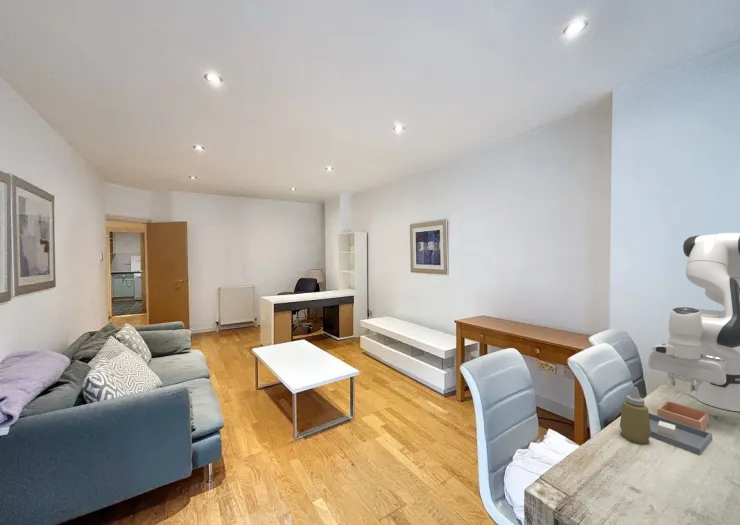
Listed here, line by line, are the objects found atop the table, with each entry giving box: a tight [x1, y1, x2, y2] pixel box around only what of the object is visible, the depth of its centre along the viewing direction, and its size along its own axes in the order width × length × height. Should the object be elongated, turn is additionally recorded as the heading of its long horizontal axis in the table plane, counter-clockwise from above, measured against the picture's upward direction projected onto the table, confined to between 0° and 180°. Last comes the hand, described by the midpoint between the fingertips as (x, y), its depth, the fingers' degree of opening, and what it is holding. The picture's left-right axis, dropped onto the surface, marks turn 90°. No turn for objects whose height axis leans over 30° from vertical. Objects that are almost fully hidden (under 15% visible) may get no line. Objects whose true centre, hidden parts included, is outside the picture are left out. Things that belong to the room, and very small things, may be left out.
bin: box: [657, 400, 710, 431], centre depth 113 cm, size 11×11×5 cm
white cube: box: [674, 376, 695, 395], centre depth 113 cm, size 4×4×4 cm
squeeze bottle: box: [619, 386, 651, 445], centre depth 103 cm, size 8×8×18 cm
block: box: [658, 421, 676, 439], centre depth 103 cm, size 4×4×4 cm
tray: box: [649, 412, 713, 456], centre depth 105 cm, size 15×17×3 cm
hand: (684, 387), depth 113 cm, fingers closed on white cube, 4 cm apart
